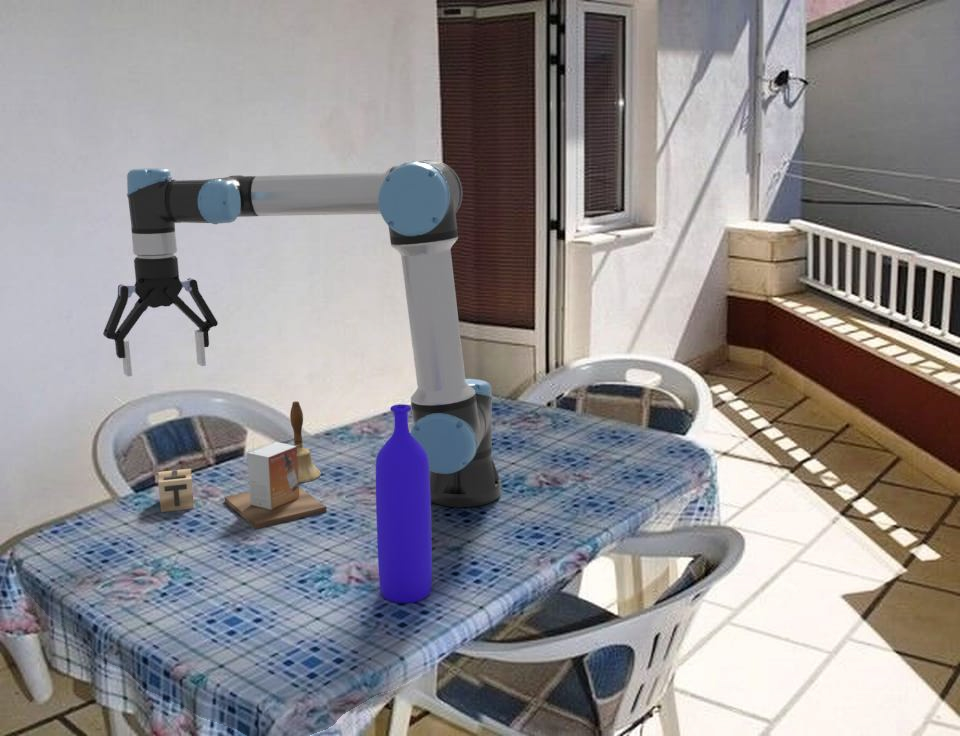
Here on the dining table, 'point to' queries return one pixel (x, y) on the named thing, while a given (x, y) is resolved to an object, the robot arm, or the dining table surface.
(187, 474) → the letter cube
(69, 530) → the dining table surface
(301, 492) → the walnut board
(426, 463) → the bottle
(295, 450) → the small box
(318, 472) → the hand bell
